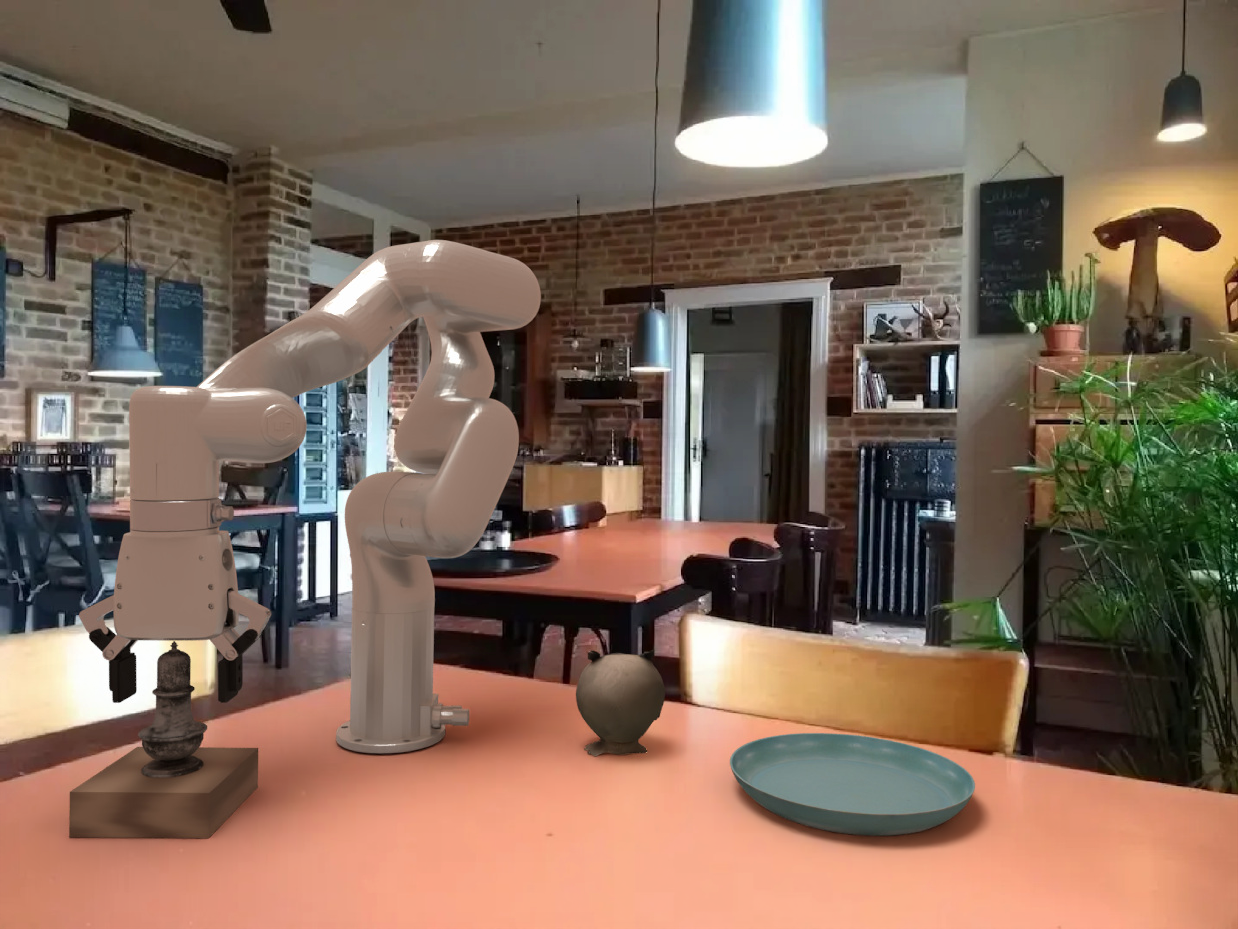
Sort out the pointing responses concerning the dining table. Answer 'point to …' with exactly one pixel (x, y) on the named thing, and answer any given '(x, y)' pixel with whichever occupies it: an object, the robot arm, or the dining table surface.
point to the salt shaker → (172, 720)
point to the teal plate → (852, 782)
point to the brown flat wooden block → (163, 797)
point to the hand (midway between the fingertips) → (176, 698)
